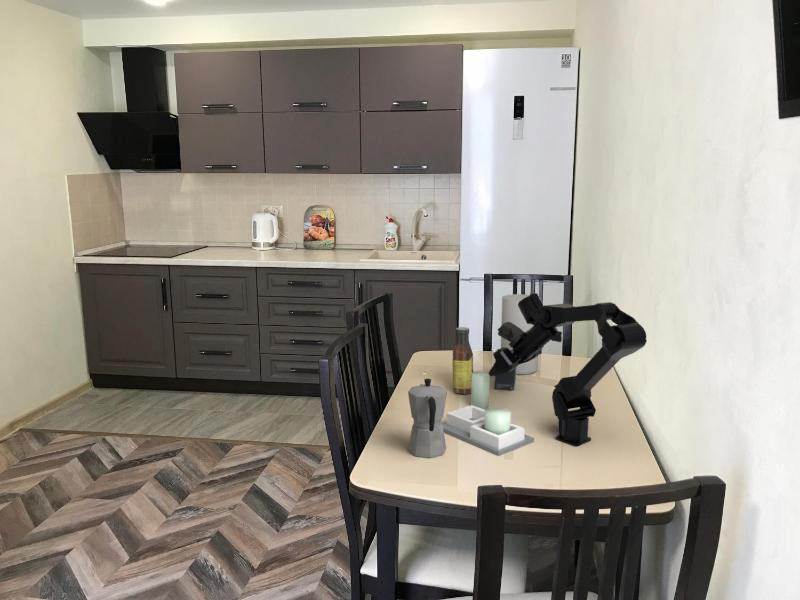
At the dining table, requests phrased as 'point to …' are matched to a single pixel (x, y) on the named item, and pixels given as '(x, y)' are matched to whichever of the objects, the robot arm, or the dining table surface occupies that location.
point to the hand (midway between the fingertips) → (497, 370)
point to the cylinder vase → (515, 316)
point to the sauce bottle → (462, 362)
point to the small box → (505, 380)
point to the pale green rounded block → (480, 389)
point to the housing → (486, 429)
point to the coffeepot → (427, 420)
